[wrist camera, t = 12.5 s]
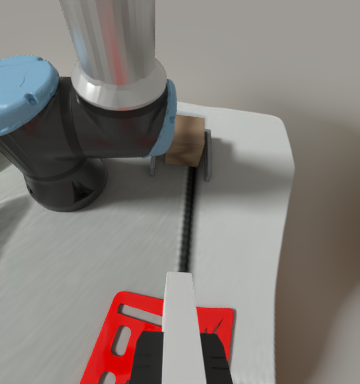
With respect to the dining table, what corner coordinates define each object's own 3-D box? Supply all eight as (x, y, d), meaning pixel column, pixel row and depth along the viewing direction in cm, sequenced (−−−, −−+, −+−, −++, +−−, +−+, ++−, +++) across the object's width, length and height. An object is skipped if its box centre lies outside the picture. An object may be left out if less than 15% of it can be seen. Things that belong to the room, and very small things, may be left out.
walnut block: (164, 163, 50) (166, 140, 43) (167, 138, 54) (169, 113, 47) (197, 167, 50) (204, 144, 43) (198, 142, 54) (204, 118, 47)
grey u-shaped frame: (150, 175, 48) (149, 167, 45) (156, 132, 54) (156, 123, 52) (208, 181, 48) (211, 174, 46) (207, 138, 55) (210, 129, 52)
